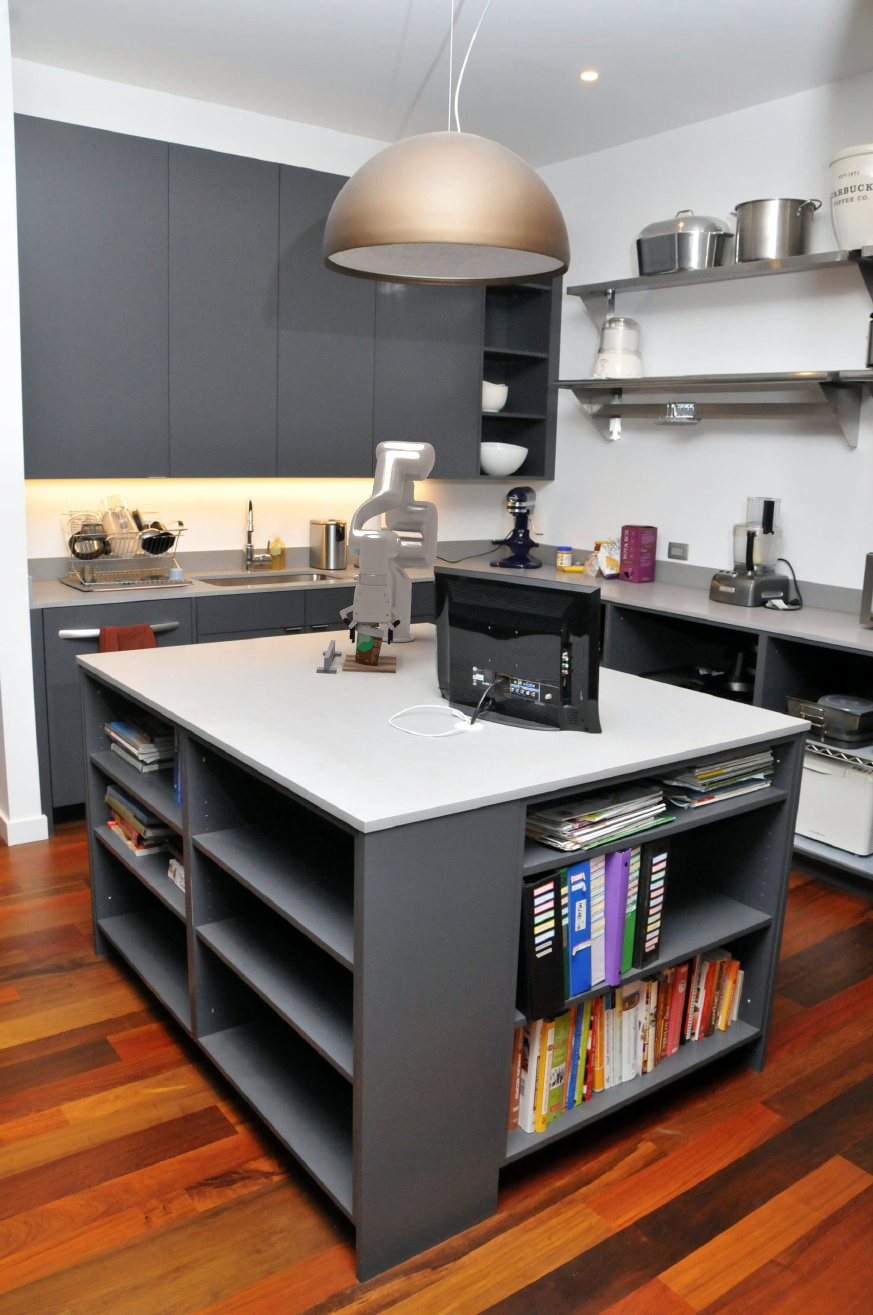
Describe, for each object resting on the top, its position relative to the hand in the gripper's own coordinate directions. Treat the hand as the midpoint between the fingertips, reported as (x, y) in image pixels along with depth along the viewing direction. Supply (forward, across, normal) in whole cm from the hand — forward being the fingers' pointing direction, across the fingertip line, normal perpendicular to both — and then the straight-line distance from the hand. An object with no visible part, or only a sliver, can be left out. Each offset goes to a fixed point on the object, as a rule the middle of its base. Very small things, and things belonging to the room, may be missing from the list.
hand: (371, 642), depth 271 cm
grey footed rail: (+6, -11, 0) cm, 12 cm away
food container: (+5, -2, -1) cm, 6 cm away
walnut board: (+6, 0, 0) cm, 6 cm away
